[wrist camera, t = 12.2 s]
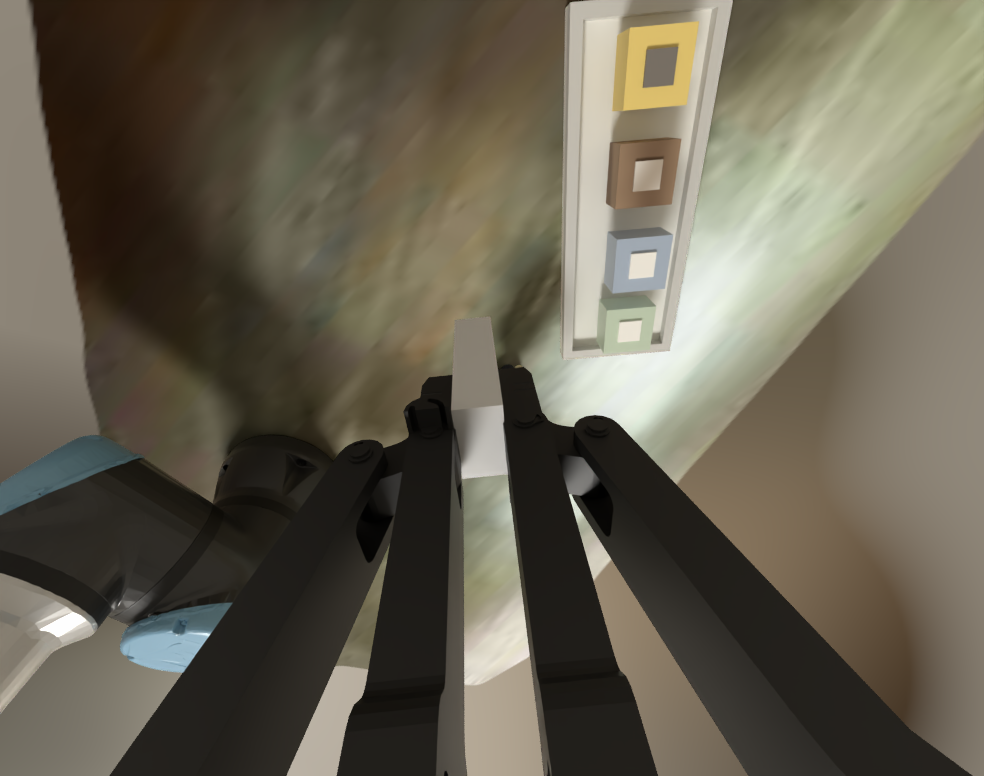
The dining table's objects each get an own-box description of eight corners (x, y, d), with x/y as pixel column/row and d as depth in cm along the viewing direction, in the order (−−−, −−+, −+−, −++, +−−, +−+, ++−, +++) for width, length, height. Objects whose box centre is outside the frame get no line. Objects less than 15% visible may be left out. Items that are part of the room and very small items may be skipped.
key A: (612, 111, 34) (623, 110, 31) (617, 34, 31) (630, 27, 28) (670, 105, 34) (687, 104, 31) (681, 29, 31) (700, 20, 28)
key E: (596, 340, 45) (604, 354, 43) (599, 299, 43) (607, 311, 40) (639, 337, 45) (650, 350, 43) (645, 295, 43) (657, 307, 40)
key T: (605, 203, 38) (615, 210, 35) (610, 142, 35) (621, 144, 32) (658, 198, 38) (672, 204, 35) (666, 137, 35) (682, 138, 32)
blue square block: (603, 282, 40) (613, 294, 38) (607, 231, 38) (617, 240, 35) (652, 278, 40) (665, 289, 38) (660, 226, 38) (674, 235, 35)
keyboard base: (560, 351, 48) (563, 359, 47) (565, 8, 32) (570, 2, 30) (662, 342, 48) (669, 350, 46) (721, -7, 32) (735, -14, 30)
